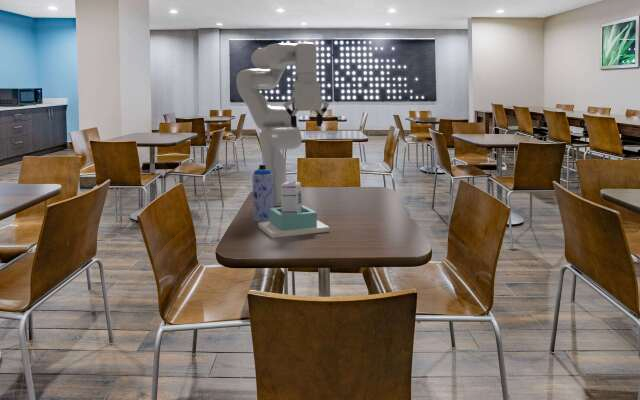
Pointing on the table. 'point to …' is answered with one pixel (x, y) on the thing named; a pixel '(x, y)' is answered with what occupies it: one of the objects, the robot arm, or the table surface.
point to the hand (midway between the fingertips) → (306, 126)
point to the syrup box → (291, 197)
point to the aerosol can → (262, 193)
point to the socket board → (292, 223)
